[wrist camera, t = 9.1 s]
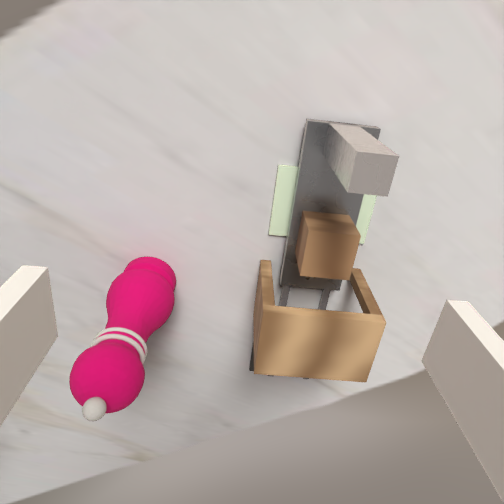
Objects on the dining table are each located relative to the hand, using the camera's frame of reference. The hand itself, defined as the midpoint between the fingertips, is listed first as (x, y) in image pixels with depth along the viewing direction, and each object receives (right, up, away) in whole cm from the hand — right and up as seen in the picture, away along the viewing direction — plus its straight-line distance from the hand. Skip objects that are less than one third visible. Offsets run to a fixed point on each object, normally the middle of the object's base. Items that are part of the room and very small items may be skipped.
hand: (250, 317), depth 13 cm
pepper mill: (-12, -1, +34) cm, 36 cm away
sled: (+8, +7, +29) cm, 31 cm away
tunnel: (+7, -3, +35) cm, 36 cm away
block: (+8, +4, +29) cm, 30 cm away
